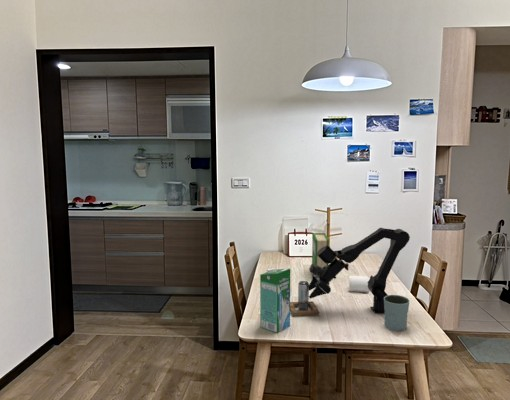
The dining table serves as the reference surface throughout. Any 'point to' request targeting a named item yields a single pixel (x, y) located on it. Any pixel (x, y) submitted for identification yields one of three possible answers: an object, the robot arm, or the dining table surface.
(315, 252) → the hardback book
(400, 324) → the grey-green cup
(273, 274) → the milk carton
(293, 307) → the holder
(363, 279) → the mug
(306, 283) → the grey brushed cylinder
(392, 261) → the robot arm
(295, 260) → the dining table surface
